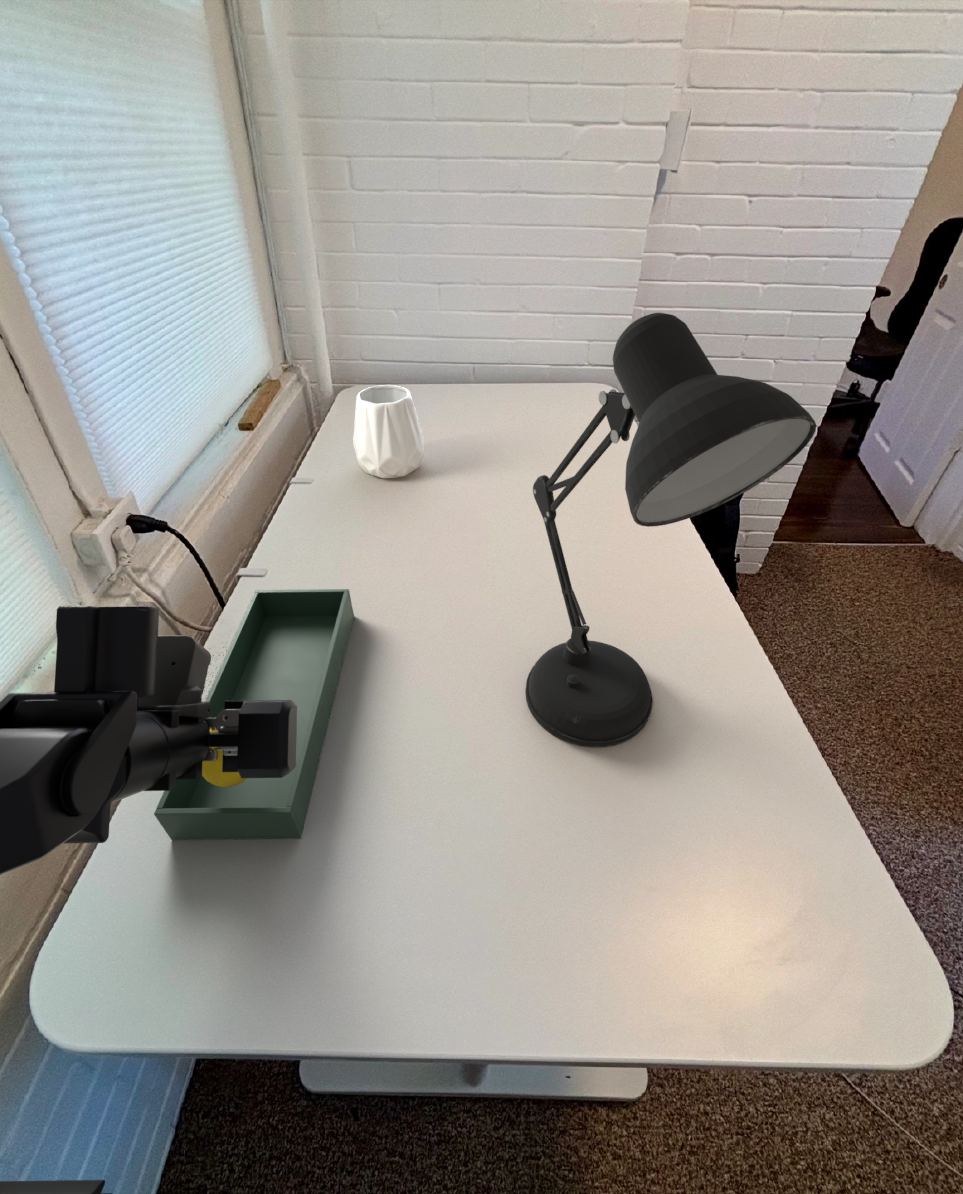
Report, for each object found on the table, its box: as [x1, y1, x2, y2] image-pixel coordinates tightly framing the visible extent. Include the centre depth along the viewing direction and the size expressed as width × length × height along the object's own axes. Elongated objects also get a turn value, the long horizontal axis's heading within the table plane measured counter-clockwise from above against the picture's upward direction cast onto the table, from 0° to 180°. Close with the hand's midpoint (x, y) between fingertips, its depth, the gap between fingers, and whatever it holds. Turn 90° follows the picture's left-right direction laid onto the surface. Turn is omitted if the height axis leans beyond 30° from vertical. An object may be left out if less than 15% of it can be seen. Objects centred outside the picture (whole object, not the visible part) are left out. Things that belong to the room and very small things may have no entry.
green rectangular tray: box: [153, 588, 355, 841], centre depth 72 cm, size 34×13×5 cm, turn 0°
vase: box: [352, 384, 425, 479], centre depth 117 cm, size 14×14×15 cm
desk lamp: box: [525, 312, 817, 748], centre depth 59 cm, size 24×26×45 cm
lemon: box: [202, 728, 247, 787], centre depth 58 cm, size 6×6×8 cm
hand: (224, 727), depth 57 cm, fingers closed on lemon, 4 cm apart
